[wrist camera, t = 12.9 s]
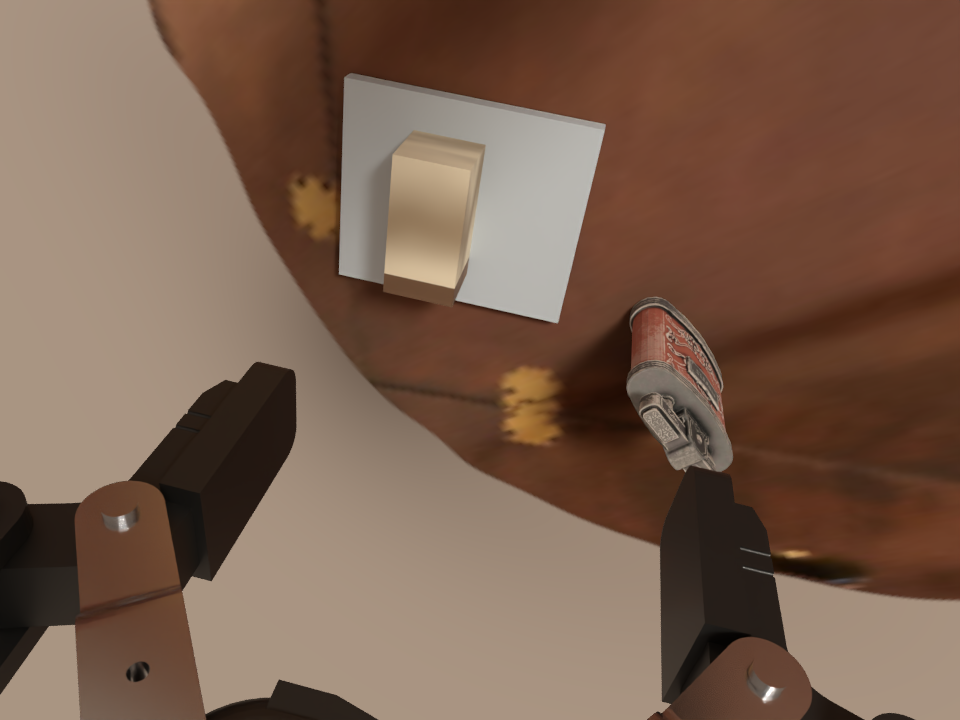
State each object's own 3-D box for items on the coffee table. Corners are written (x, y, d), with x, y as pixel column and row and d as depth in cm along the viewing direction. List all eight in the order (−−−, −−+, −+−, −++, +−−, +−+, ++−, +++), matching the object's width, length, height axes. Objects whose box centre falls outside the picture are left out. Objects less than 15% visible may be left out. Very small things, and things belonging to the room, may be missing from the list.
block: (414, 129, 39) (392, 154, 36) (485, 144, 39) (470, 170, 36) (402, 260, 44) (382, 291, 40) (466, 274, 43) (452, 307, 40)
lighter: (734, 381, 45) (753, 494, 37) (686, 403, 47) (694, 516, 39) (665, 286, 42) (669, 386, 34) (616, 313, 44) (609, 414, 36)
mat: (605, 124, 38) (604, 130, 37) (559, 315, 45) (557, 323, 44) (350, 72, 39) (344, 77, 38) (344, 267, 46) (338, 274, 45)
